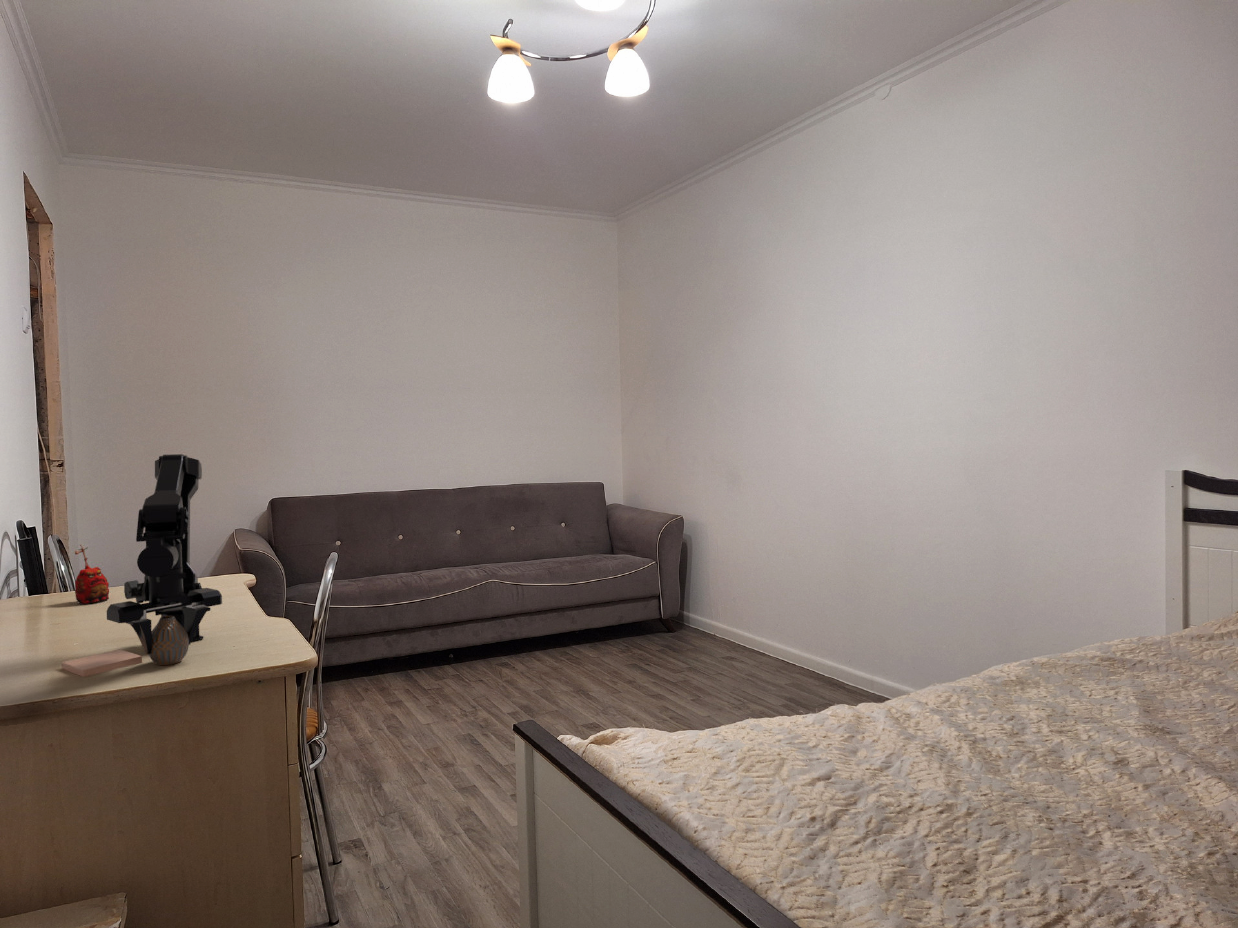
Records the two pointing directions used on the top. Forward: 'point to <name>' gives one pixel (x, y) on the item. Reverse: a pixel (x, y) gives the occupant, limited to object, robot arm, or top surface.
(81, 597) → the red clay folk toy
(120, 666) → the tile
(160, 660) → the vase
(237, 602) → the top surface
